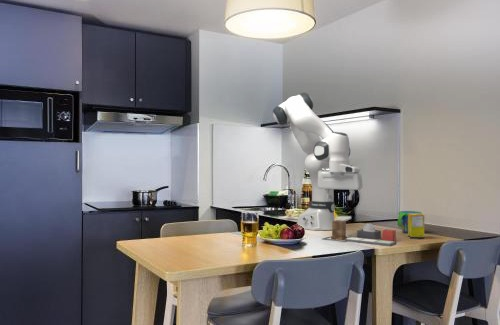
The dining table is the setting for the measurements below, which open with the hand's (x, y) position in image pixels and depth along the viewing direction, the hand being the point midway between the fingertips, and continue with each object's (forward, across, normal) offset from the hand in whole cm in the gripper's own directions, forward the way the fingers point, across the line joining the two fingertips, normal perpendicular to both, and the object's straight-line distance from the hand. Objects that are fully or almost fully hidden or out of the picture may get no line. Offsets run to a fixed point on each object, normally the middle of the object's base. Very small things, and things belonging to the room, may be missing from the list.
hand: (339, 199), depth 201 cm
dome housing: (+18, +10, +10) cm, 22 cm away
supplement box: (+18, +26, +26) cm, 41 cm away
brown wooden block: (+17, 0, 0) cm, 17 cm away
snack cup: (+18, +19, +41) cm, 48 cm away
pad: (+17, 0, 0) cm, 17 cm away
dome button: (+16, +10, +10) cm, 21 cm away
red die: (+18, +19, +10) cm, 28 cm away
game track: (+18, +14, 0) cm, 22 cm away
